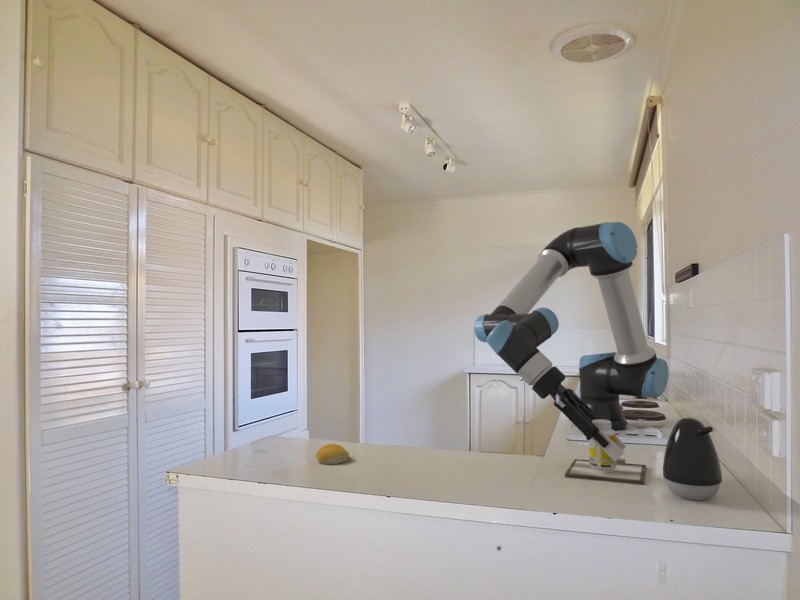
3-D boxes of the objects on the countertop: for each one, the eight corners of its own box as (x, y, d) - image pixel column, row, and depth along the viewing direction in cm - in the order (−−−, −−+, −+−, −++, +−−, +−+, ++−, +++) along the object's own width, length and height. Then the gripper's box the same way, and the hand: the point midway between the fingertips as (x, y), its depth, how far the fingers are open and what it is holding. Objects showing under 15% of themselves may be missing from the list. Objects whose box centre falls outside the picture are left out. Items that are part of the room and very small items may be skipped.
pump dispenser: (691, 508, 103) (688, 424, 103) (652, 491, 113) (649, 415, 113) (736, 502, 105) (733, 420, 106) (694, 486, 115) (691, 411, 116)
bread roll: (319, 466, 139) (319, 450, 139) (314, 458, 147) (314, 443, 148) (352, 463, 141) (352, 447, 141) (345, 455, 150) (345, 440, 150)
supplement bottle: (620, 467, 124) (619, 420, 124) (610, 472, 120) (608, 424, 120) (596, 462, 128) (594, 417, 128) (585, 468, 124) (584, 421, 124)
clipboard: (574, 461, 137) (574, 454, 137) (646, 467, 130) (646, 460, 130) (564, 476, 124) (564, 469, 124) (643, 484, 118) (643, 476, 118)
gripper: (539, 382, 139) (612, 455, 132) (521, 392, 123) (603, 476, 115) (560, 361, 137) (636, 433, 130) (545, 368, 121) (630, 452, 113)
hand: (620, 453), depth 122 cm, fingers closed on supplement bottle, 5 cm apart
